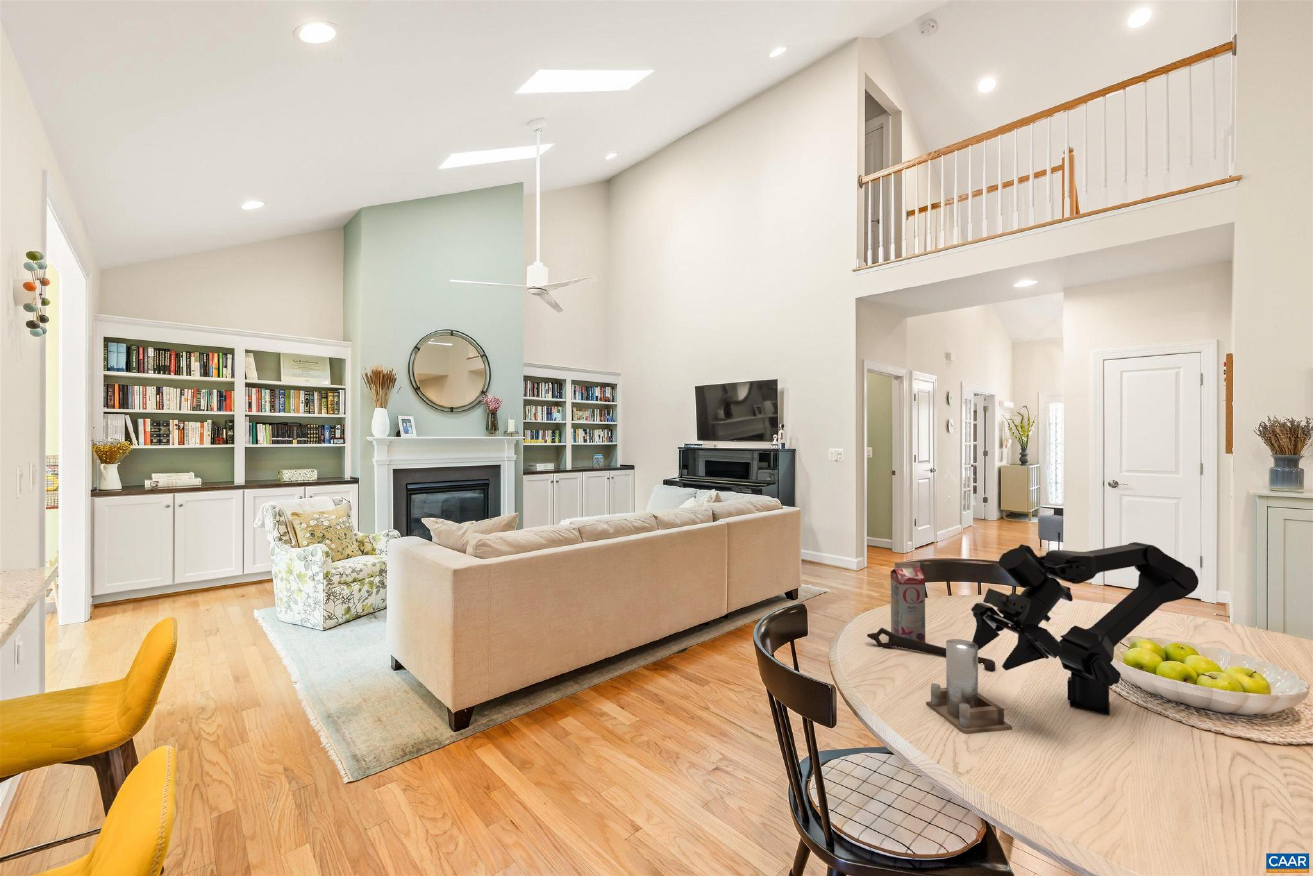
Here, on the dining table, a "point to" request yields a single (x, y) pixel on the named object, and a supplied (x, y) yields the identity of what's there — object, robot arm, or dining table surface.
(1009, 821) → the dining table surface
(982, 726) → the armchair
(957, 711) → the grey cylinder
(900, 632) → the juice carton
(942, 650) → the wrench
